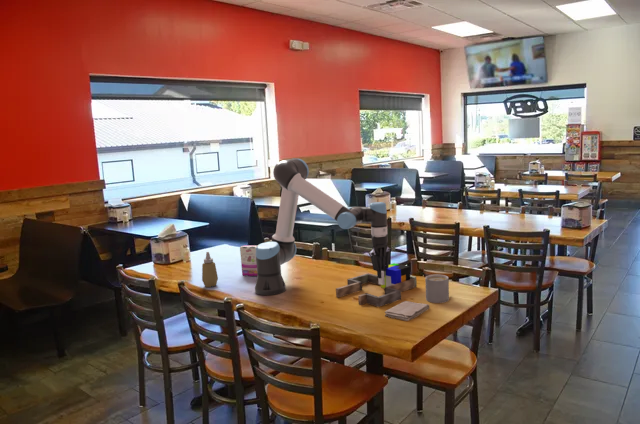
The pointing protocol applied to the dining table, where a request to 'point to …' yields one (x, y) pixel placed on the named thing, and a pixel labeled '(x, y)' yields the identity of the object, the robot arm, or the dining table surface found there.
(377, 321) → the dining table surface
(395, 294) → the trap lane
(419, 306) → the washcloth
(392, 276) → the puzzle toy
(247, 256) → the candy bar box
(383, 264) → the robot arm
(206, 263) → the squeeze bottle
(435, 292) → the coffee mug
